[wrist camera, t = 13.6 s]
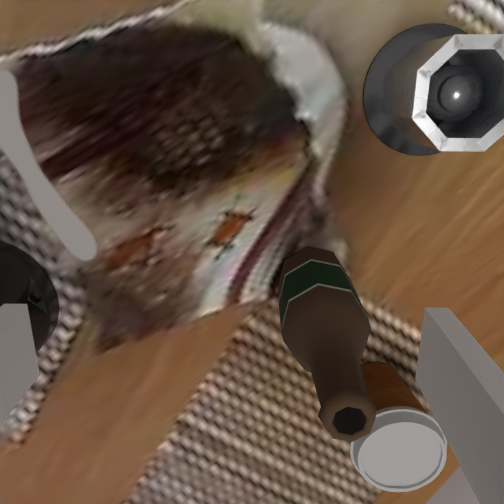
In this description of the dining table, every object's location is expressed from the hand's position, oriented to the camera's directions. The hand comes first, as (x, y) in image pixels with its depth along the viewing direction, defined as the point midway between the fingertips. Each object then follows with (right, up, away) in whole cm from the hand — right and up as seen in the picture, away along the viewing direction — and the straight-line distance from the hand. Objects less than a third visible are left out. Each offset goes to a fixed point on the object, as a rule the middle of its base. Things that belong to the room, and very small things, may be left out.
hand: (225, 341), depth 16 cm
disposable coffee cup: (+16, -13, +41) cm, 46 cm away
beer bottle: (+8, 0, +37) cm, 38 cm away
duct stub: (+18, +18, +30) cm, 39 cm away
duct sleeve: (+18, +18, +29) cm, 39 cm away
